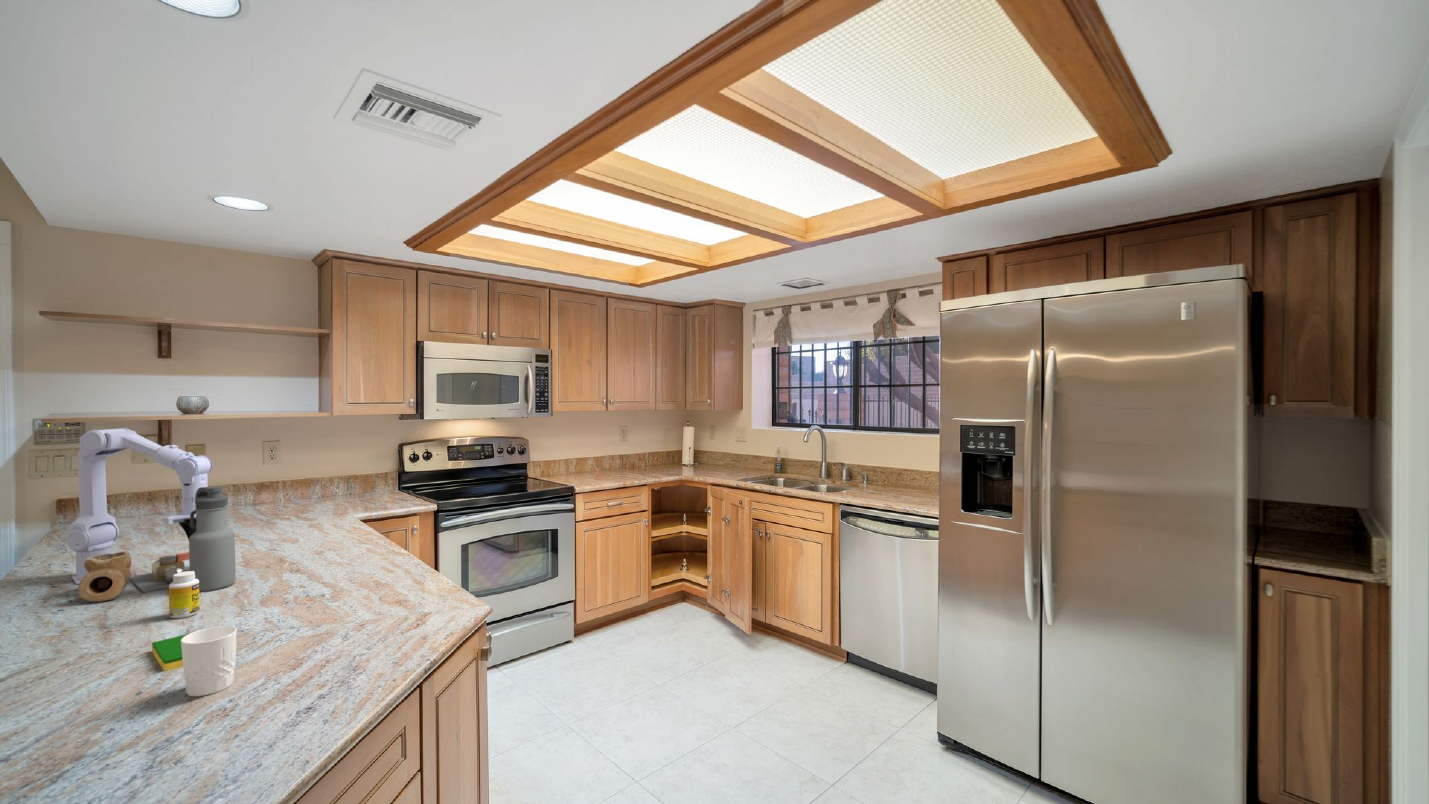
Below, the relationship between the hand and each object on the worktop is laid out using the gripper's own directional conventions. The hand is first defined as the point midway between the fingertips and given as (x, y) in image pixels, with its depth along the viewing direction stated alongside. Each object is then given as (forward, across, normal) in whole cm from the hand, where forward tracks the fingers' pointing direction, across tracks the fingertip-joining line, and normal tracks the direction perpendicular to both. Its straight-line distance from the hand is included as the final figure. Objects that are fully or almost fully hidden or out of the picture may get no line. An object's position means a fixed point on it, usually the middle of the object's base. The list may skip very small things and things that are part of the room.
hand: (196, 543), depth 173 cm
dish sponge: (+11, -36, -54) cm, 65 cm away
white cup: (+10, -43, -74) cm, 87 cm away
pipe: (+10, -17, +7) cm, 21 cm away
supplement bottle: (+10, -21, -29) cm, 37 cm away
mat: (+10, -2, +5) cm, 11 cm away
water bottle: (+10, -4, -13) cm, 17 cm away
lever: (+5, +1, +5) cm, 8 cm away
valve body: (+10, -3, +7) cm, 12 cm away
